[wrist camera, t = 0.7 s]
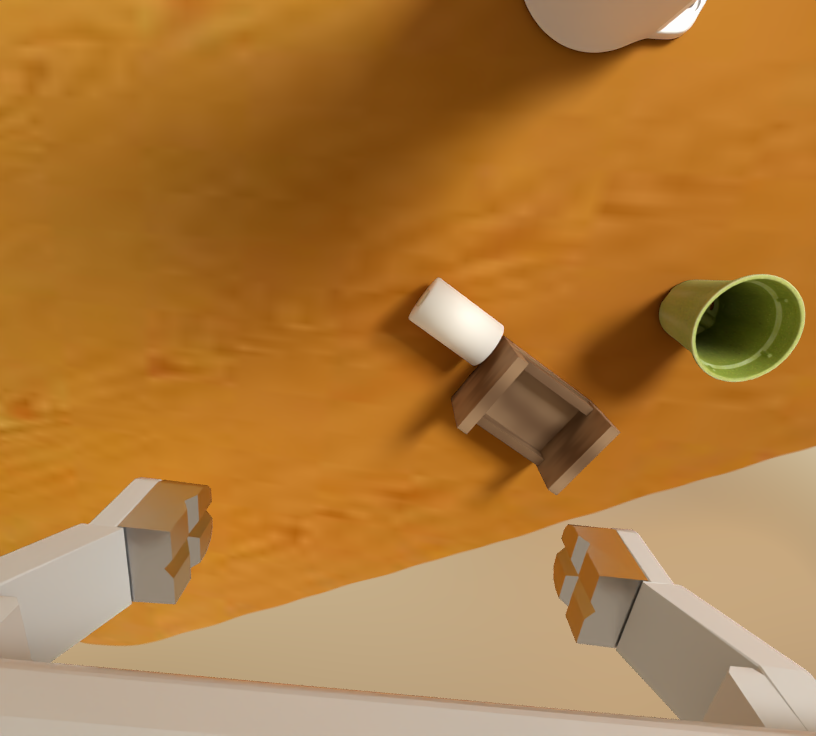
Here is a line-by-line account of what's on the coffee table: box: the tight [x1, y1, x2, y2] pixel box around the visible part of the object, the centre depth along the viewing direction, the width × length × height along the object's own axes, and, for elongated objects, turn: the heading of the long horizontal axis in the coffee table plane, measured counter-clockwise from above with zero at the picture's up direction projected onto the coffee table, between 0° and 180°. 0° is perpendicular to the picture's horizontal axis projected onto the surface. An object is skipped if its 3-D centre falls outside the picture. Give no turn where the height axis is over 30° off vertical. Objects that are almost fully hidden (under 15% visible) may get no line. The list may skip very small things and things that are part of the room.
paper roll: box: [409, 277, 504, 366], centre depth 44 cm, size 8×5×5 cm, turn 54°
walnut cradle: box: [451, 336, 620, 495], centre depth 46 cm, size 9×13×7 cm
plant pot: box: [659, 274, 805, 382], centre depth 42 cm, size 9×9×9 cm
